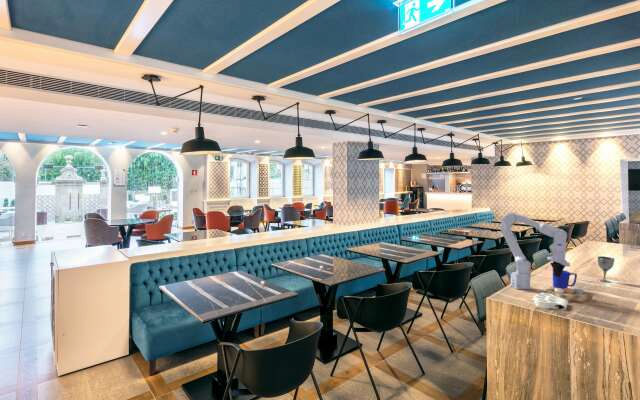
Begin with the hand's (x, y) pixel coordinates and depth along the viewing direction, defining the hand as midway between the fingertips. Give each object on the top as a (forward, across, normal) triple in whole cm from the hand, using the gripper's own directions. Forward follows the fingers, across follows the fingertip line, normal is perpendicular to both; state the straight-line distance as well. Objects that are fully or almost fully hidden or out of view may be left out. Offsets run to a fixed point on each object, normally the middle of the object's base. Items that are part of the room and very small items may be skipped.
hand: (557, 276), depth 179 cm
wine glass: (+10, +28, -50) cm, 59 cm away
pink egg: (+8, -6, -2) cm, 11 cm away
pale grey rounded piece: (+8, -6, +3) cm, 11 cm away
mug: (+10, +10, -12) cm, 18 cm away
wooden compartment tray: (+10, -6, -2) cm, 12 cm away
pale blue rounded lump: (+8, -6, -7) cm, 13 cm away
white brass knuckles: (+10, -16, +15) cm, 25 cm away
